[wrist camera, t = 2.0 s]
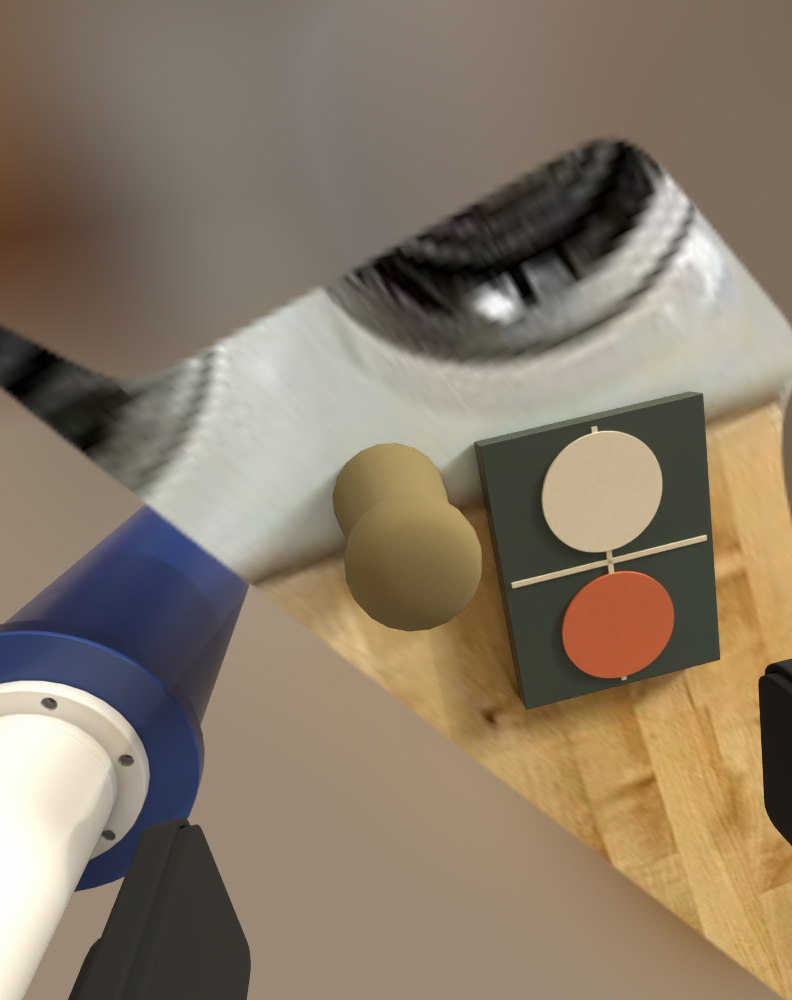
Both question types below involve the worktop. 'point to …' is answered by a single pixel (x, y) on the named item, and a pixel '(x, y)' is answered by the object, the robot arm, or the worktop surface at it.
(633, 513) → the board
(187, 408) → the worktop surface
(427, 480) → the cork
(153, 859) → the robot arm
